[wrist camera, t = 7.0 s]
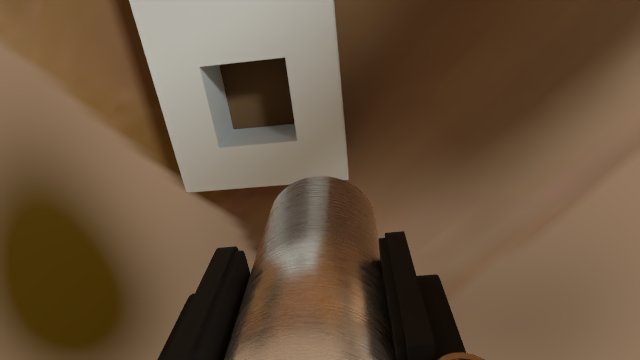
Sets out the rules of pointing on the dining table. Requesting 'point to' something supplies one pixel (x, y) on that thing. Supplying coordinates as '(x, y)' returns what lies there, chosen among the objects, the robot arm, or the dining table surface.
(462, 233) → the dining table surface
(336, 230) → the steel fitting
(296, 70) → the manifold block
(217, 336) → the robot arm
